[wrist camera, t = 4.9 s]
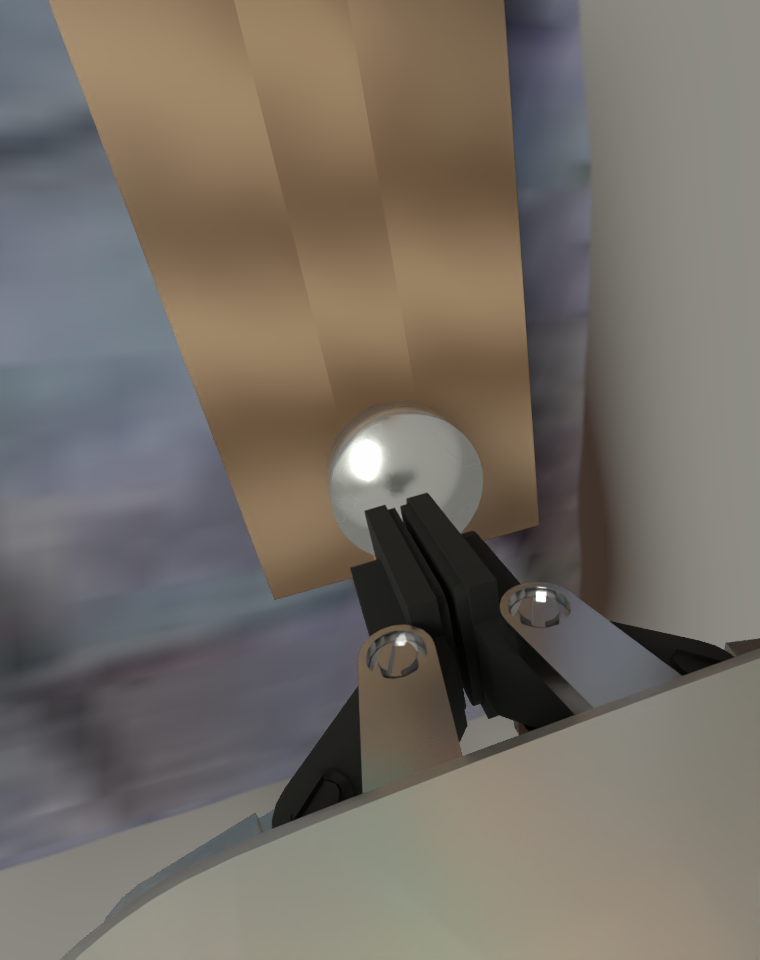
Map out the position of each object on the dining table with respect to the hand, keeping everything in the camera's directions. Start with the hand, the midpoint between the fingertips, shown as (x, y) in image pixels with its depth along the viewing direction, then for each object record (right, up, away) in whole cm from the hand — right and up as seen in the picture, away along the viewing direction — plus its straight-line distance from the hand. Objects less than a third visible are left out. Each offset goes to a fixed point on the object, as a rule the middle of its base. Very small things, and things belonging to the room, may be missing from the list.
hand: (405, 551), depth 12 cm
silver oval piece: (-1, +4, +9) cm, 10 cm away
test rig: (-3, +12, +7) cm, 14 cm away
